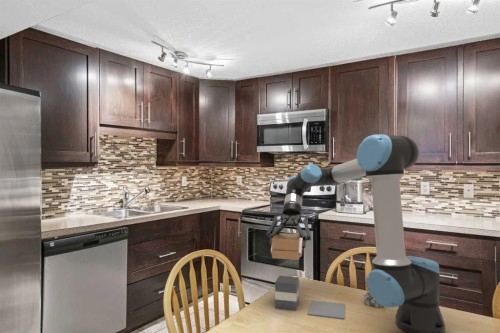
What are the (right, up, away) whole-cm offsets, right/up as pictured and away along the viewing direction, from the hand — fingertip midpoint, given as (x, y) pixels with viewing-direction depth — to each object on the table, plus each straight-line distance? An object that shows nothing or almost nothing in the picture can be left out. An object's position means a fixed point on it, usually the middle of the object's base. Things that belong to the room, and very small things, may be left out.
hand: (286, 253), depth 133 cm
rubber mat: (+15, -21, -1) cm, 26 cm away
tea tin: (+1, -21, +3) cm, 21 cm away
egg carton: (+36, -21, +6) cm, 42 cm away
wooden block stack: (+1, -1, +3) cm, 3 cm away
